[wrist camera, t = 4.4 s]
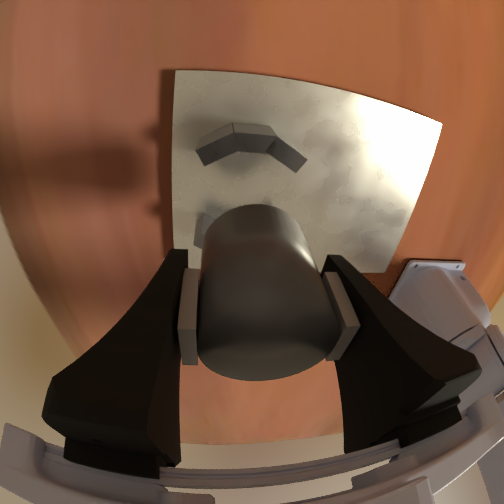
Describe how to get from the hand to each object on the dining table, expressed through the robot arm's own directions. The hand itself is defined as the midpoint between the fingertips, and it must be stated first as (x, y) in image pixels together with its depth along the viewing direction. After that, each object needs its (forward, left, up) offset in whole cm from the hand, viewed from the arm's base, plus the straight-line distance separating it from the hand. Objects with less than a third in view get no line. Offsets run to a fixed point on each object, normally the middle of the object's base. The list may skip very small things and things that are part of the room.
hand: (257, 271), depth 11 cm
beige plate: (-5, 0, -9) cm, 10 cm away
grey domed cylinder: (0, 0, -1) cm, 1 cm away
